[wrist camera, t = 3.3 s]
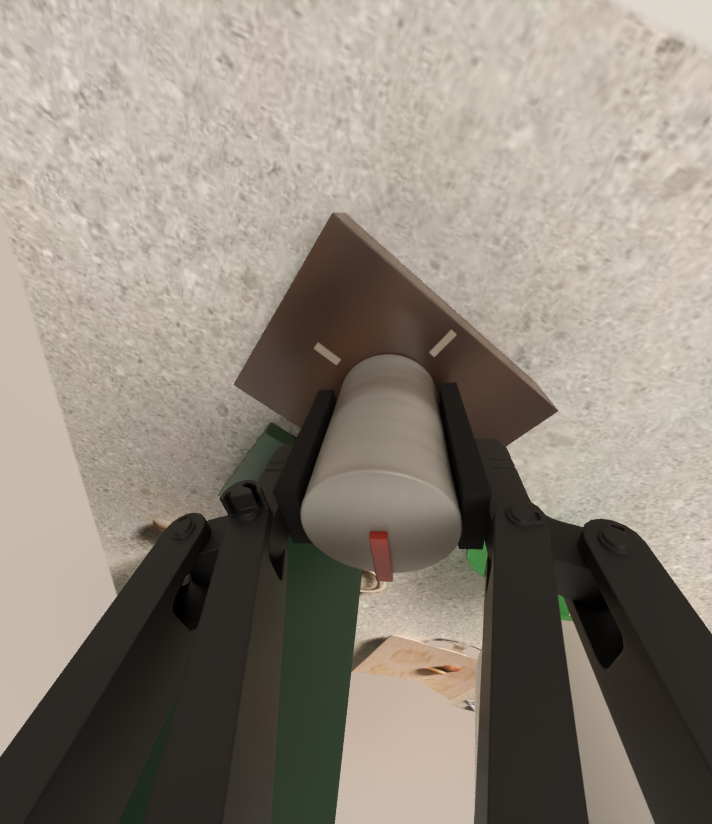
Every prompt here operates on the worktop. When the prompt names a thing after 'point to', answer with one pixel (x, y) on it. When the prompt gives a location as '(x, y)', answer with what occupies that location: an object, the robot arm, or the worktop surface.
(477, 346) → the dial panel
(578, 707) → the cup
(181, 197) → the worktop surface
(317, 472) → the dial
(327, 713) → the control post
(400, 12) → the worktop surface
